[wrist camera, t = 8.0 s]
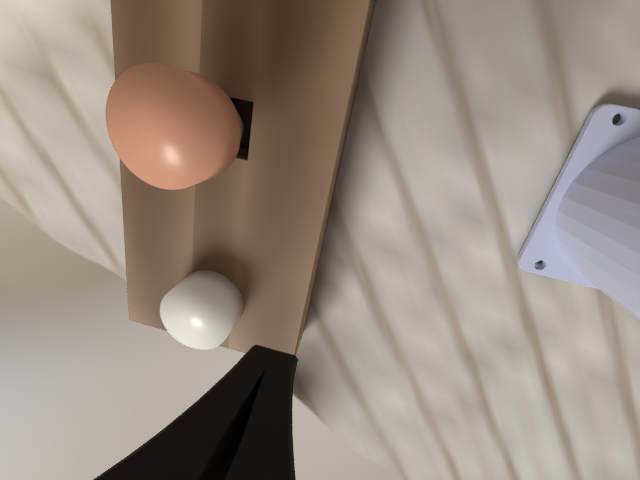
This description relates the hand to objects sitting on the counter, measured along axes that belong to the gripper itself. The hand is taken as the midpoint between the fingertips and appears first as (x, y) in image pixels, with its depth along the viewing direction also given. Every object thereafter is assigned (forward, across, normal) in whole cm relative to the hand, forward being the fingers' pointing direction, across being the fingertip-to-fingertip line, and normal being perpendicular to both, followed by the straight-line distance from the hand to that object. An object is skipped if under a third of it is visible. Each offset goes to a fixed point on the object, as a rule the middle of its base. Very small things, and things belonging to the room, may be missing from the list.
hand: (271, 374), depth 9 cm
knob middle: (+7, +5, -6) cm, 10 cm away
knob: (+9, +5, +3) cm, 11 cm away
